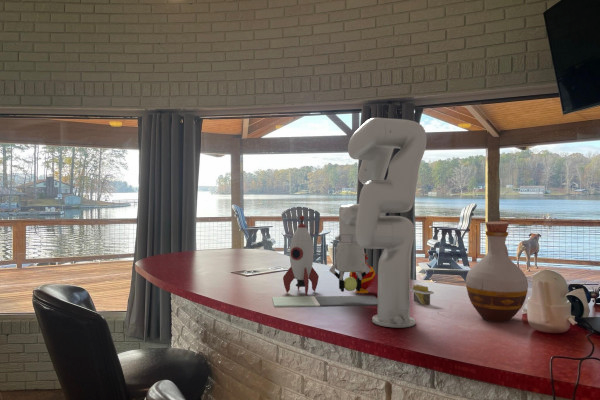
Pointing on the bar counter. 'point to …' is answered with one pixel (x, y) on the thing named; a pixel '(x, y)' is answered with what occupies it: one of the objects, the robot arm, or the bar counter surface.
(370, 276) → the potion bottle
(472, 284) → the jug
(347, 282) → the ball
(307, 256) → the toy
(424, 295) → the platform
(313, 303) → the strip
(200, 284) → the bar counter surface
